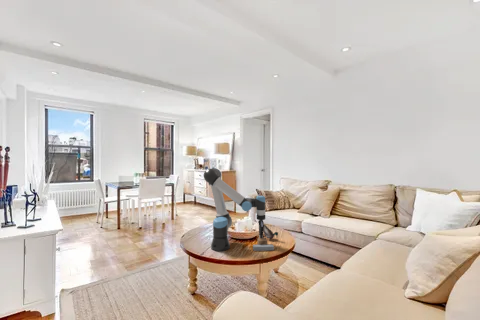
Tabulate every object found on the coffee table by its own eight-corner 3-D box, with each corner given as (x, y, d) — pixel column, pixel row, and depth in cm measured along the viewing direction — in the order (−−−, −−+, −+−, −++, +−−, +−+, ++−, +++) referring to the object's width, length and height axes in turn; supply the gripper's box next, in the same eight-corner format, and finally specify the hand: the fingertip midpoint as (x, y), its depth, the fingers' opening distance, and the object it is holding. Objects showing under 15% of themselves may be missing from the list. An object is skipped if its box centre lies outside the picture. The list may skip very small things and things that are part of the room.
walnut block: (258, 248, 189) (258, 240, 189) (257, 245, 196) (257, 238, 196) (267, 248, 189) (267, 240, 189) (265, 244, 196) (265, 237, 196)
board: (253, 250, 183) (253, 247, 183) (252, 248, 188) (252, 244, 188) (273, 250, 184) (273, 246, 184) (272, 247, 189) (272, 244, 189)
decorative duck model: (281, 236, 207) (275, 219, 211) (277, 238, 201) (270, 221, 205) (268, 240, 215) (262, 224, 219) (263, 242, 209) (257, 226, 213)
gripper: (266, 216, 192) (266, 245, 192) (264, 212, 205) (264, 239, 205) (257, 216, 191) (257, 245, 191) (255, 212, 204) (255, 239, 204)
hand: (261, 242), depth 198 cm, fingers closed
